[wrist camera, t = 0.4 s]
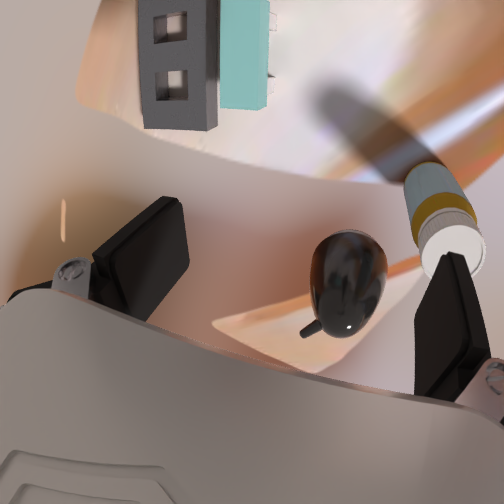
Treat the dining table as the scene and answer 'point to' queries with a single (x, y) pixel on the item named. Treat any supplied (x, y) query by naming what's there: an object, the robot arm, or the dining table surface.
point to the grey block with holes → (178, 64)
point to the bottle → (441, 218)
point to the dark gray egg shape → (345, 283)
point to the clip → (245, 53)
